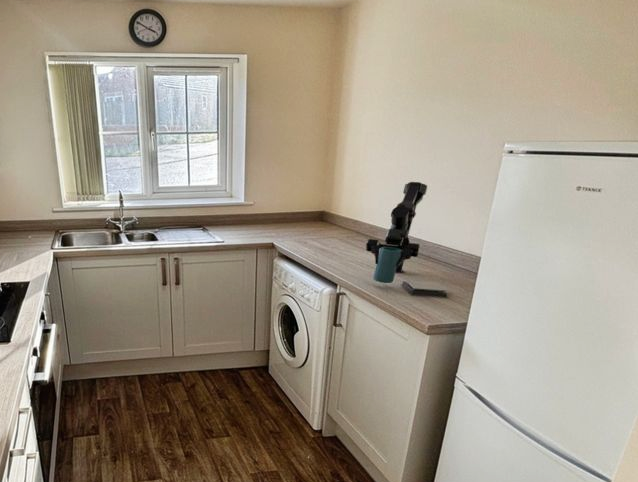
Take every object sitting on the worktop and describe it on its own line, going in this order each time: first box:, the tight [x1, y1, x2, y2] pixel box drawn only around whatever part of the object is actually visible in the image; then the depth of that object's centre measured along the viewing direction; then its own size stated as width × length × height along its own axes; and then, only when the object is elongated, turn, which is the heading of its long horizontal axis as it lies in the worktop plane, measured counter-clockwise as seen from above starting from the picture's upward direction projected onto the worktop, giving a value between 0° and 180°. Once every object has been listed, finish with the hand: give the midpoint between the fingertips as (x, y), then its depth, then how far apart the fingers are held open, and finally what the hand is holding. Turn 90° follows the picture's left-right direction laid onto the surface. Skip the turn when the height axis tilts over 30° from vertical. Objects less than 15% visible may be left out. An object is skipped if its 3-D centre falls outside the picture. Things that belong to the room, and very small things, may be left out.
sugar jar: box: [372, 247, 402, 284], centre depth 182 cm, size 7×7×13 cm
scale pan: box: [406, 280, 447, 293], centre depth 180 cm, size 11×11×1 cm
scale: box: [401, 280, 448, 298], centre depth 181 cm, size 14×12×2 cm
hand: (386, 265), depth 181 cm, fingers closed on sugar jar, 7 cm apart
